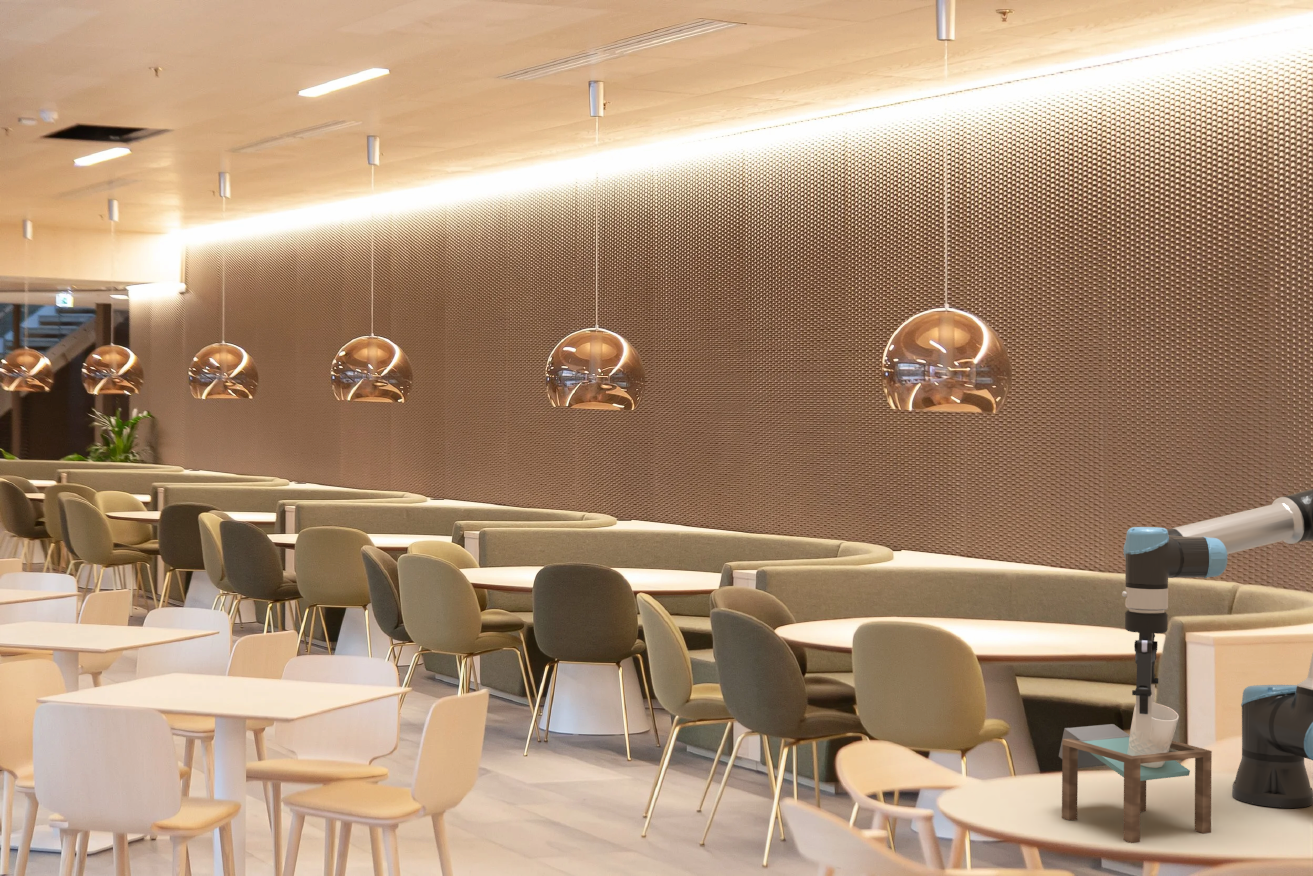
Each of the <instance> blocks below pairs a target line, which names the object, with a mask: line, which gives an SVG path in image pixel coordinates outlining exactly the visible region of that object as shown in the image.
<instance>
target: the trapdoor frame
mask: <svg viewBox="0 0 1313 876" xmlns="http://www.w3.org/2000/svg"><path fill="white" fill-rule="evenodd" d="M1061 742H1062V759H1061V760H1062V764H1061V767H1062V769H1061V771H1062V773H1061V775H1062V777H1061V781H1062V782H1061V783H1062V784H1061V818H1062V819H1064V820H1067V821H1075V820H1078V782H1079V781H1078V778H1079V777H1078V776H1079V775H1078V774H1079V773H1078V772H1079V771H1078V770H1079V768H1078V749H1080V750H1083V751H1087V752H1090V753H1093V754H1097V755H1100V756H1104V757H1107V758H1111V759H1114V760H1118V761H1121V762H1124V777H1123V841H1124V840H1126V842H1127V841H1128V843H1130V842H1131V844H1132V843H1133V844H1134V843H1140V842H1141V813H1142V812H1146V811H1147V780H1144V781H1140V764H1143V763H1152V762H1162V761H1171V760H1175V761H1178V760H1179V761H1181V760H1190V759H1194V832H1197V833H1200V834H1208V833H1212V761H1213V760H1212V752H1213V750H1210V749H1206V748H1202V747H1198V746H1195V745H1192V744H1191V745H1190V744H1187V743H1182V742H1179V741H1175V740H1172V742H1171V745H1170V749H1171V750H1175V751H1168V752H1167V753H1157V754H1147V755H1137V756H1131V755H1128V754H1124V753H1121V752H1117V751H1113V750H1110V749H1106V748H1103V747H1099V746H1096V745H1092V744H1089V743H1085V742H1082V741H1078V740H1075V739H1063V741H1062V740H1061Z"/></svg>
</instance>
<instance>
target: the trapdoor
mask: <svg viewBox="0 0 1313 876" xmlns="http://www.w3.org/2000/svg"><path fill="white" fill-rule="evenodd" d="M1129 737H1130V733H1127V732H1126V731H1124V730H1123V729H1121V728H1120V727H1118V726H1117V725H1115V724H1114V723H1110V724H1109V723H1108V724H1098V725H1088V726H1076V727H1075V726H1074V727H1064V729H1063V734H1062V739H1061V743H1060V748H1059V751H1058V752H1059V753H1058V757H1059V758H1060V759H1061V760H1062V741H1063V739H1075V740H1078V741H1082V742H1085V743H1089V744H1092V745H1096V746H1099V747H1103V748H1106V749H1110V750H1113V751H1117V752H1121V753H1124V754H1127V751H1128V746H1129ZM1102 766H1107V767H1109V768H1110V769H1111V770H1112V771H1114V772H1115V773H1117V774H1119V775H1120V777H1122V778H1124V762H1121V761H1118V760H1114V759H1111V758H1107V757H1104V756H1100V755H1097V754H1093V753H1090V752H1087V751H1083V750H1080V749H1078V769H1085V768H1094V767H1095V768H1096V767H1102ZM1190 772H1191V770H1190V769H1188V767H1186V766H1184V765H1182V764H1181V763H1180V762H1178V760H1171V761H1165V764H1164V765H1163V766H1162V767H1159V768H1150V767H1145V766H1141V765H1140V781H1144V780H1146V781H1152V780H1160V779H1171V778H1179V777H1188V776H1190Z"/></svg>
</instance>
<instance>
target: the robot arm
mask: <svg viewBox="0 0 1313 876" xmlns="http://www.w3.org/2000/svg"><path fill="white" fill-rule="evenodd" d="M1279 542H1280V543H1281V542H1284V543H1285V544H1289V545H1292V544H1297V543H1301V542H1302V543H1303V542H1313V488H1310V489H1307V490H1303V491H1299V492H1296V493H1291V494H1290V495H1285V496H1281V497H1280V496H1279V497H1278V498H1275V499H1274V500H1273V502H1272V503H1271V504H1269V505H1268V504H1267V505H1264V506H1259V507H1257V508H1253V509H1248V510H1247V509H1246V510H1243V511H1238V512H1235V513H1231V514H1227V515H1221V516H1218V517H1214V518H1210V519H1205V520H1201V521H1197V522H1196V521H1195V522H1193V523H1192V522H1191V523H1188V524H1185V525H1184V524H1183V525H1180V526H1176V527H1172V528H1168V529H1167V528H1165V527H1159V526H1158V527H1157V526H1155V527H1154V526H1134V527H1130V528H1129V529H1128V530H1127V531H1126V536H1125V541H1124V545H1123V557H1124V560H1125V562H1124V563H1125V566H1124V567H1125V580H1124V581H1125V590H1124V591H1122V593H1121V596H1122V597H1126V598H1125V605H1124V606H1125V607H1126V609H1128V610H1126V611H1125V613H1124V628H1125V631H1127V632H1130V633H1138V639H1135V640H1134V653H1135V657H1134V660H1135V664H1136V686H1135V689H1133V690H1132V691H1131V692H1132V693H1131V695H1132V696H1135V704H1136V731H1141V732H1152V702H1154V703H1156V702H1155V701H1156V698H1155V697H1156V684H1157V685H1159V677H1156V674H1155V673H1156V672H1155V670H1156V669H1155V668H1156V667H1155V666H1156V665H1155V664H1156V660H1157V651H1158V646H1159V645H1158V641H1156V640H1155V637H1156V634H1164V633H1166V632H1168V628H1169V627H1168V622H1169V619H1168V616H1169V615H1168V613H1167V612H1166V611H1167V610H1168V609H1169V579H1174V578H1176V579H1178V578H1180V579H1181V578H1184V579H1186V578H1203V579H1207V578H1216V577H1219V576H1221V575H1222V574H1223V573H1224V572H1225V571H1226V569H1227V566H1228V557H1229V556H1228V555H1230V554H1234V553H1238V552H1242V551H1248V550H1250V549H1254V548H1259V547H1262V546H1267V545H1271V544H1272V545H1273V544H1275V543H1279ZM1240 706H1241V759H1240V763H1239V766H1238V769H1237V772H1236V776H1235V779H1234V780H1233V782H1232V785H1231V786H1232V790H1231V791H1232V794H1231V795H1232V797H1233V798H1234V799H1236V800H1238V801H1240V802H1244V803H1247V804H1251V805H1256V806H1262V807H1271V808H1279V809H1280V808H1282V809H1284V808H1285V809H1286V808H1287V809H1288V808H1289V809H1294V808H1295V809H1299V808H1306V807H1309V806H1312V805H1313V788H1312V787H1311V784H1310V780H1309V776H1308V772H1307V768H1306V765H1305V764H1306V763H1305V759H1308V760H1310V761H1313V653H1311V659H1310V663H1309V669H1308V674H1307V677H1306V678H1305V679H1304V680H1302V681H1301V682H1299V683H1297V684H1259V685H1258V684H1257V685H1255V684H1254V685H1247V686H1246V687H1245V688H1244V689H1243V691H1242V700H1241V704H1240Z"/></svg>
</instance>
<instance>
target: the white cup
mask: <svg viewBox="0 0 1313 876" xmlns="http://www.w3.org/2000/svg"><path fill="white" fill-rule="evenodd" d="M1131 718H1132V720H1131V725H1130V730H1129V735H1130V737H1129V746H1128V751H1127V754H1128V755H1131V756H1137V755H1147V754H1157V753H1167V752H1170V749H1171V748H1170V745H1171V742H1172V741H1173V738H1174V736H1175V731H1176V728H1177V724H1178V721H1179V718H1180V715H1179V714H1178V713H1177V711H1175V710H1174V709H1173V708H1171V707H1169V706H1166V705H1164V704H1162V703H1157V702H1155V703H1154V702H1152V732H1141V731H1136V703H1135V704H1134V709H1133V714H1132V717H1131ZM1164 764H1165V761H1162V762H1152V763H1143V764H1140V765H1141V766H1145V767H1150V768H1159V767H1162V766H1163V765H1164Z"/></svg>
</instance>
